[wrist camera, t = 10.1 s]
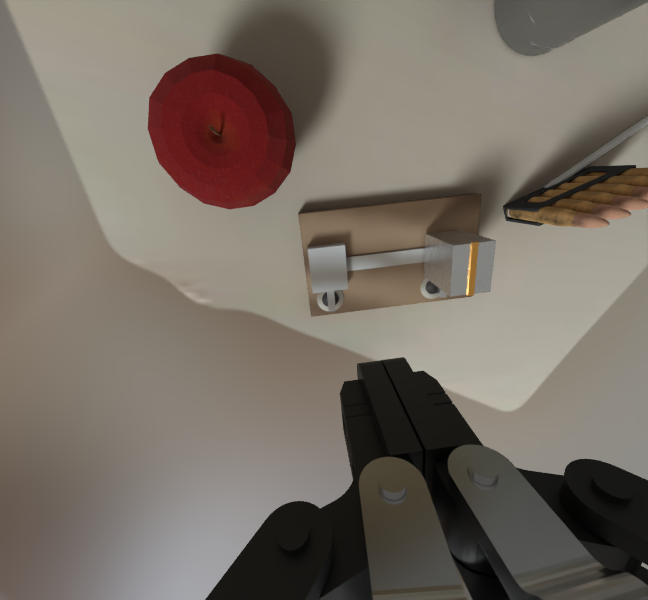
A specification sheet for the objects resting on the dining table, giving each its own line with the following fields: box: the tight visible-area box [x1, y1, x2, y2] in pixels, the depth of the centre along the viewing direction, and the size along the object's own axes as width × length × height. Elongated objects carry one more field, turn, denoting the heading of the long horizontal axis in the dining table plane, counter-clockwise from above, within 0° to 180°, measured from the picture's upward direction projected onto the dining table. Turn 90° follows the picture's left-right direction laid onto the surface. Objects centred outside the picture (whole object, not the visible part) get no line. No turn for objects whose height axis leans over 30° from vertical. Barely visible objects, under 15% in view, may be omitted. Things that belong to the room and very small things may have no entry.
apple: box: [148, 54, 296, 209], centre depth 26 cm, size 11×11×12 cm
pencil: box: [543, 115, 648, 190], centre depth 34 cm, size 1×1×15 cm
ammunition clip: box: [503, 165, 648, 228], centre depth 30 cm, size 11×2×12 cm, turn 114°
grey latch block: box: [424, 230, 496, 298], centre depth 32 cm, size 8×4×7 cm, turn 6°
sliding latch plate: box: [298, 194, 481, 317], centre depth 35 cm, size 12×20×3 cm, turn 96°
